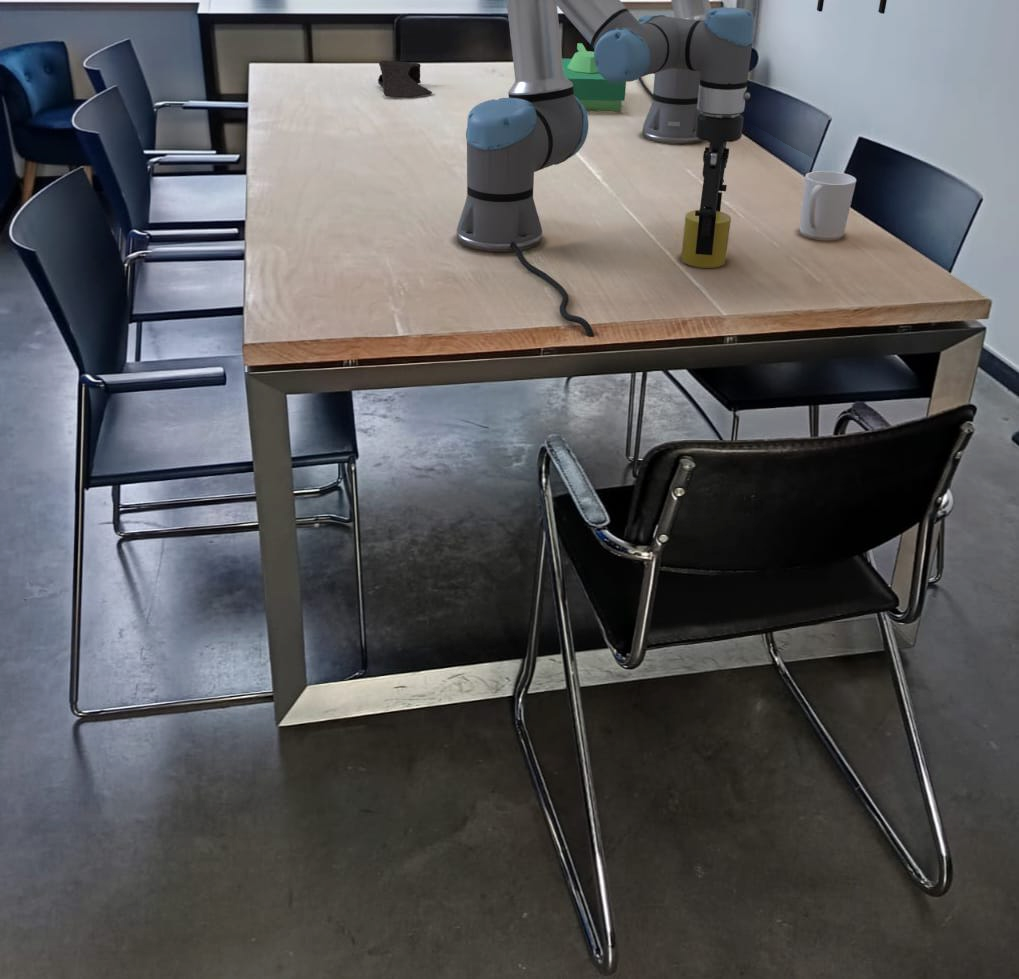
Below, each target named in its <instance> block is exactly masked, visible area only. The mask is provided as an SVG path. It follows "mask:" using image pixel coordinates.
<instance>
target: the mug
mask: <svg viewBox="0 0 1019 979" xmlns="http://www.w3.org/2000/svg"><path fill="white" fill-rule="evenodd" d="M856 183H857V178H856V177H855V176H853V175H851V174H848V173H844V172H840V171H832V170H816V171H809V172H807V173H806V174H805V177H804V184H803V194H802V203H801V212H800V219H799V228H798V232H799V234H800V235H802V236H803V237H805V238H809V239H812V240H817V241H836V240H840V239H842V238H843V237H844V236H845V230H846V227H847V221H848V217H849V215H850V214H849V213H850V209H851V205H852V201H853V196H854V193H855V189H856Z"/></svg>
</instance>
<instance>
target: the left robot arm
mask: <svg viewBox="0 0 1019 979" xmlns="http://www.w3.org/2000/svg"><path fill="white" fill-rule="evenodd" d="M506 9H507V18H508V27H509V37H510V46H511V53H512V62H513V63H512V64H513V70H514V71H513V72H514V83H513V84H512V86H511V87H510V88H509V90H508V92H507V93H508V94H507V95H508V97H500V98H498V99H494V98H493V99H488V100H484V101H483V102H479V103H478V104H476V105H474V107H472V109H471V110H470V111H469V113H468V115H467V122H466V131H465V139H466V192H467V193H466V198H465V202H464V205H463V209H462V211H461V214H460V218H459V220H458V224H457V227H456V241H457V243H458V244H459V245H461V246H462V247H464V248H466V249H468V250H470V251H475V252H479V253H486V254H497V255H499V254H500V255H506V254H507V255H508V254H515V255H516V257H517V259H518V261H519V262H520V264H521V265H522V266H523V267H524V268H525V269H526V270H527V271H529V272H530V273H533V275H535V276H538V277H539V278H541V279H542V280H544V281H545V282H546V283H548V284H549V285H550V286H551V287H552V288H554V289H555V290H556V291H557V292H558V293H559V295H560V296H561V298H562V299H561V302H560V305H559V314H560V316H561V317H562V318H563V319H564V320H565V321H568V322H571V323H575V324H579V325H580V326H581V327H582V328H583V329H584V330H585V333H586V335H587V337H589V338H594V337H595V333H594V330H593V328H592V326H591V325H590V323H589V321H587V320H586V319H585V318H583V317H582V316H578V315H573V314H570V313H568V311H567V307H568V304H569V294H568V292H567V291H566V289H565V288H564V287H563V286H562V285H561V284H560V283H559V282H557V281H556V280H555V279H554V278H553V277H552V276H550V275H548V274H547V273H546V272H544V271H543V270H541V269H539V268H538V267H536V266H535V265H533V264H531V263H530V262H528V261H527V259H526V258H525V256H524V254H523V253H524V252H527V251H530V250H533V249H536V248H538V247H539V246H540V245H541V244H542V243H543V229H542V224H541V221H540V220H541V219H540V218H539V214H538V213H539V212H538V210H537V206H536V204H535V199H534V184H535V181H534V180H535V173H537V172H538V171H541V170H543V169H546V168H549V167H551V166H556V165H560V164H562V163H564V162H566V161H567V160H569V159H570V158H572V157H573V156H576V155H577V153H578V152H580V150H581V149H582V148H583V146H584V144H585V143H586V140H587V137H588V132H589V116H588V112H587V111H586V110H585V108H584V106H583V104H581V103H580V102H579V99H578V98H577V97H575V96H574V89H573V83H572V82H571V81H570V80H568V79H567V78H566V77H565V76H564V73H563V64H562V59H563V55H562V45H561V34H560V23H559V14H558V13H559V12H558V9H559V10H560V11H561V12H562V13H563V14H564V16H565V17H566V18H567V19H568V20H569V21H570V22H571V24H572V25H573V26H574V27H575V29H577V30H578V32H579V33H580V34H581V35H582V36H583V37H584V39H585V40H586V41H587V42H588V43H589V44H590V46H591V47H592V49H593V50H594V51H593V52H594V61H595V64H596V67H597V70H598V72H599V74H600V75H601V76H602V77H603V78H604V79H606V80H608V81H610V82H614V83H621V82H626V83H629V82H634V81H637V80H639V78H640V77H641V78H642V77H643V78H644V77H645V76H648V75H653V74H655V73H657V72H660V71H663V70H666V69H670V68H674V69H684V70H692V71H700V84H699V92H698V103H697V109H698V110H699V111H700V112H699V113H698V115H697V118H696V128H695V135H696V137H697V138H699V139H701V140H704V141H706V142H708V143H709V145H708V146H705V148H704V151H703V155H702V163H703V167H702V177H703V182H702V189H701V198H700V206H699V209H696V211H695V216H699V223H698V233H697V243H696V253H695V254H702V255H712V251H713V242H714V232H715V223H716V211H720V212H721V209H722V207H721V206H722V200H723V198H722V197H723V192H727V189H728V188H727V186H728V185H727V184H724V183H725V178H724V177H725V169H726V168H727V164H728V159H729V154H730V148H728V147H727V143H733V142H738V141H739V140H740V139H741V138H742V135H743V128H744V120H745V117H744V116H743V114H742V113H743V112H745V107H746V100H750V98H751V93H750V92H748V91H747V90H748V88H747V86H748V83H749V82H748V80H749V71H750V64H751V56H752V49H753V45H754V26H755V25H754V24H755V23H754V22H755V16H754V15H753V12H751V11H750V10H749V9H746V8H741V7H725V6H724V7H722V6H721V7H720V6H719V7H711V9H710V10H708V11H707V13H706V18H705V20H691V19H682V18H675V16H674V17H673V16H666V15H664V14H658V15H643V16H641V17H640V18H638V20H637V18H636V17H635V16H634V14H632V13H631V12H630V10H629V9H628V8H627V6H626V5H625V4H624V3H623V2H622V1H621V0H506ZM746 91H747V92H746ZM697 210H699V211H697Z"/></svg>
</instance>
